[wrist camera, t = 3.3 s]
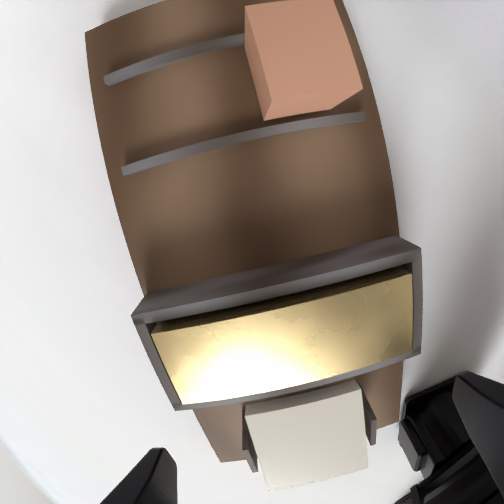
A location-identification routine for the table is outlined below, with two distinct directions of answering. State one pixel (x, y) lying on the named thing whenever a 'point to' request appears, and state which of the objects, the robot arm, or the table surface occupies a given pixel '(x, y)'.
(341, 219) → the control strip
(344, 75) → the peach tinted cube
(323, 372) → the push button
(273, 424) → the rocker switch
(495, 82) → the table surface
